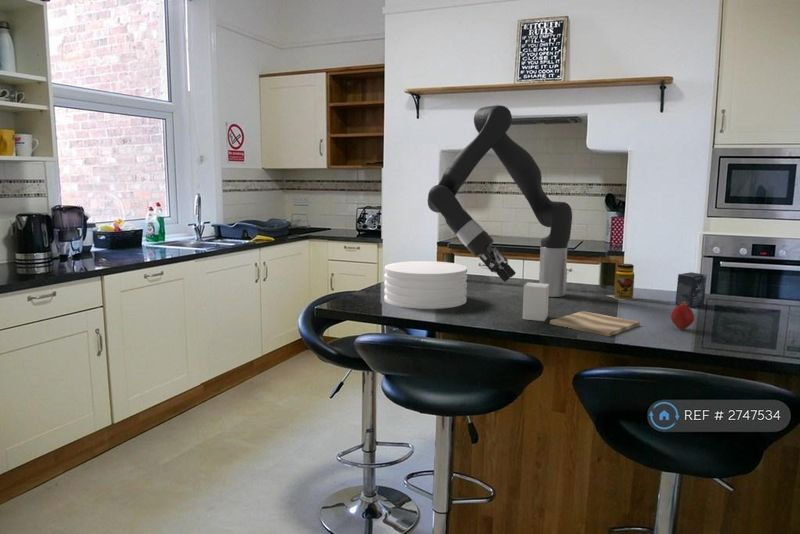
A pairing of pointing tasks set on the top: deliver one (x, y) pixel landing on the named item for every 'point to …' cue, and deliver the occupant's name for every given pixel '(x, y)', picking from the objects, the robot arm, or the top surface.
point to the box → (691, 289)
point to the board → (595, 323)
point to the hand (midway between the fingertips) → (510, 277)
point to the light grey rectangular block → (535, 301)
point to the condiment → (624, 282)
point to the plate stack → (425, 284)
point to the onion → (682, 316)
